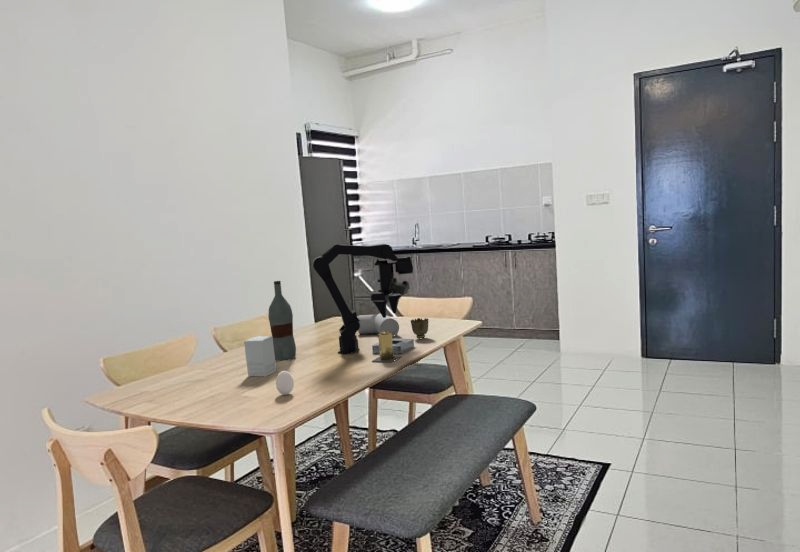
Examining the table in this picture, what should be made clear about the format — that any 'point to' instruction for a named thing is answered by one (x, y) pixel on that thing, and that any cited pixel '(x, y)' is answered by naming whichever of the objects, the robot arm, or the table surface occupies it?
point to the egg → (284, 382)
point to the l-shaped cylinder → (377, 324)
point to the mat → (386, 360)
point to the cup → (420, 327)
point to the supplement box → (260, 356)
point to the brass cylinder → (385, 345)
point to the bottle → (281, 326)
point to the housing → (396, 345)
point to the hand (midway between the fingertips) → (389, 315)
